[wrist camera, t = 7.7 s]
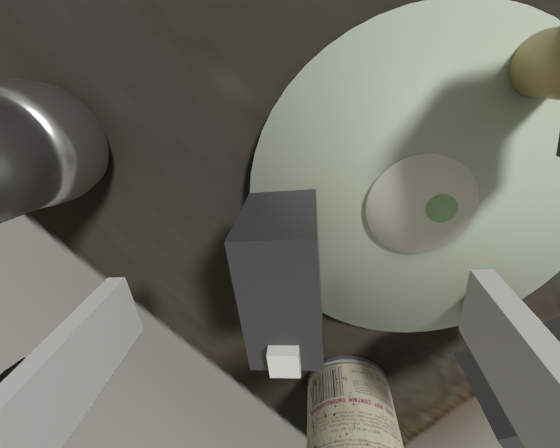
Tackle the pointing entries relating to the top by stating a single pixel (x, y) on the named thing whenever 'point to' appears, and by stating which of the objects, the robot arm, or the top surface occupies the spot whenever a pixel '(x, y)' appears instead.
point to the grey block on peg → (538, 67)
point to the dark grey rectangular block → (278, 281)
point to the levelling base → (420, 162)
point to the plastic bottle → (46, 147)
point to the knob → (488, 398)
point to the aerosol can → (351, 406)
